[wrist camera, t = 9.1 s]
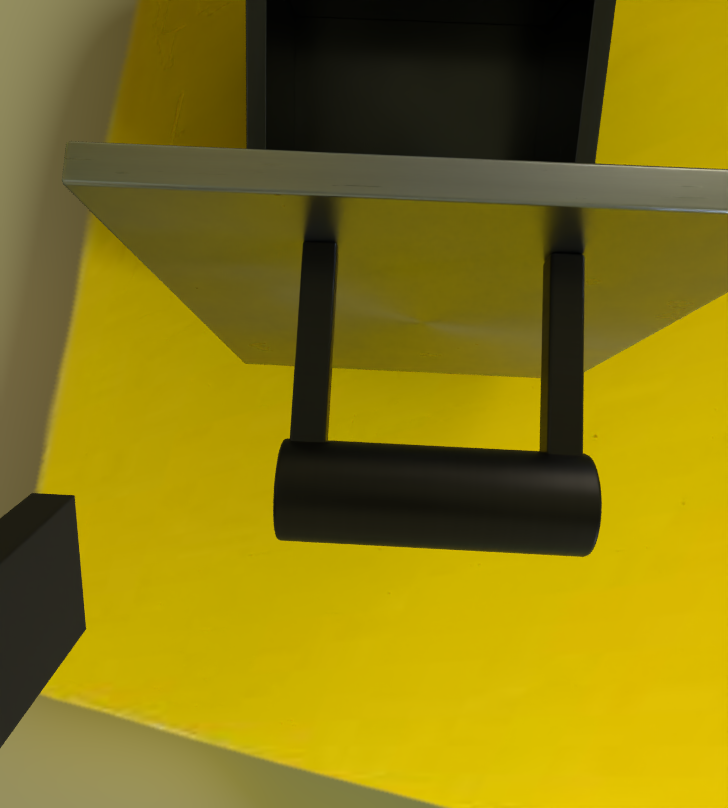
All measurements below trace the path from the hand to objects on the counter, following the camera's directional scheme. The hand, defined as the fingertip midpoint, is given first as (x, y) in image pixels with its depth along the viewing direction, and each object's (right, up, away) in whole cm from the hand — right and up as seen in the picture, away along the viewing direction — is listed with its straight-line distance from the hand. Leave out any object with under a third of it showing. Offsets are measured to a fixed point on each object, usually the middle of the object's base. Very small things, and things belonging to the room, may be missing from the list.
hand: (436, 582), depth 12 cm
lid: (0, +6, +8) cm, 10 cm away
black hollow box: (+1, +15, +23) cm, 27 cm away
